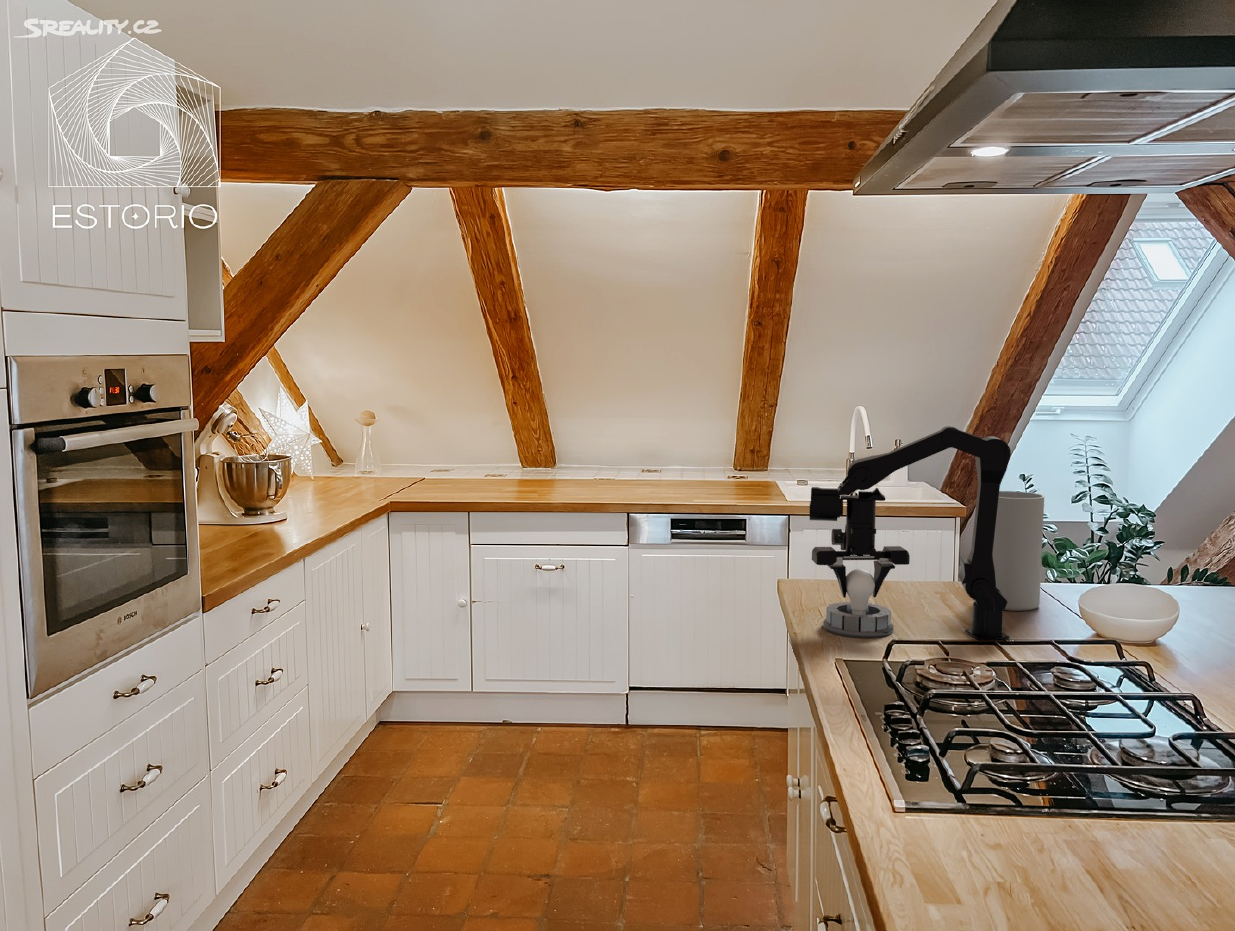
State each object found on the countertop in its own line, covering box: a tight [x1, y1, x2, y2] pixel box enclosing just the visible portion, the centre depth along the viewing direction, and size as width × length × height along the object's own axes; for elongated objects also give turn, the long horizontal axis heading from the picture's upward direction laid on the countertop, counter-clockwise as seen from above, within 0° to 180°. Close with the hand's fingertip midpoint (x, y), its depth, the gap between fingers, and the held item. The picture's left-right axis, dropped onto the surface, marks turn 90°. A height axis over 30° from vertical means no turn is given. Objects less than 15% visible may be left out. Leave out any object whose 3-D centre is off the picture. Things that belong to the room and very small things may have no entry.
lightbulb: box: [846, 568, 875, 615], centre depth 198 cm, size 6×6×11 cm
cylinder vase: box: [993, 490, 1045, 612], centre depth 217 cm, size 12×12×25 cm
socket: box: [822, 601, 895, 639], centre depth 199 cm, size 14×14×4 cm
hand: (859, 597), depth 198 cm, fingers closed on lightbulb, 6 cm apart
